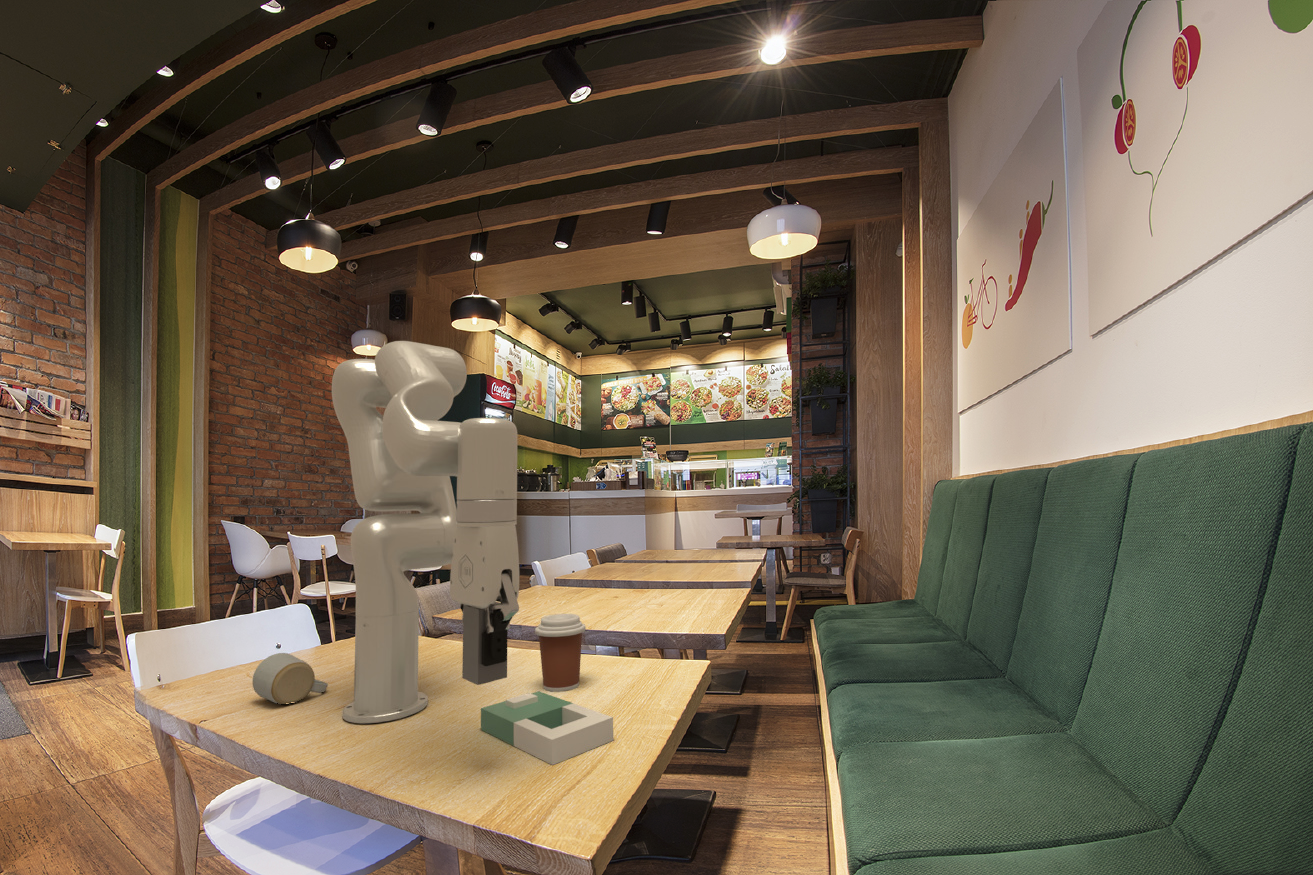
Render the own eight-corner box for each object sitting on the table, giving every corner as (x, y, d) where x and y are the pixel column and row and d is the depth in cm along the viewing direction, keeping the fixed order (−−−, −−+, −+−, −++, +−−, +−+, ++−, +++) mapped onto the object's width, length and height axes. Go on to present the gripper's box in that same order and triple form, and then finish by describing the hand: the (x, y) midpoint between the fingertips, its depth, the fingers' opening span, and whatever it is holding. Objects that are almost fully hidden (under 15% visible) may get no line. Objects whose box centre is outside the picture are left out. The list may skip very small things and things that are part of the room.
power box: (480, 729, 86) (480, 702, 86) (539, 710, 93) (538, 685, 93) (552, 764, 73) (551, 732, 73) (613, 740, 80) (612, 711, 80)
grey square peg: (462, 677, 74) (463, 602, 75) (491, 670, 77) (491, 598, 78) (477, 685, 71) (478, 606, 72) (507, 677, 74) (507, 602, 75)
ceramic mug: (270, 711, 97) (273, 663, 98) (250, 703, 102) (253, 657, 103) (336, 694, 105) (338, 650, 106) (314, 687, 110) (316, 645, 111)
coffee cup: (553, 676, 111) (552, 611, 113) (595, 680, 108) (594, 613, 109) (525, 691, 103) (524, 621, 104) (570, 696, 99) (568, 623, 101)
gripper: (430, 513, 79) (427, 653, 77) (493, 516, 67) (491, 681, 66) (481, 511, 84) (479, 642, 83) (548, 514, 73) (547, 666, 71)
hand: (484, 658), depth 74 cm, fingers closed on grey square peg, 4 cm apart
